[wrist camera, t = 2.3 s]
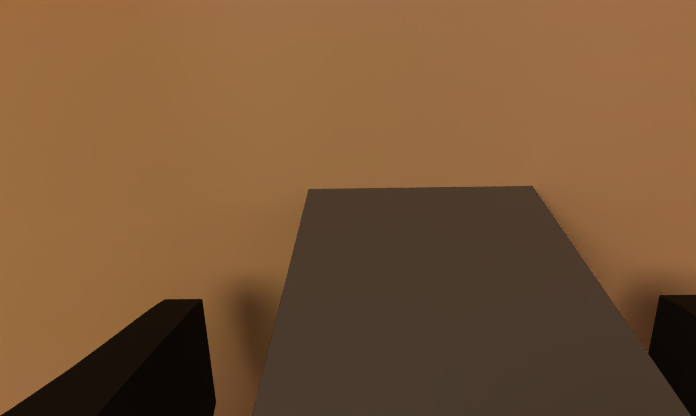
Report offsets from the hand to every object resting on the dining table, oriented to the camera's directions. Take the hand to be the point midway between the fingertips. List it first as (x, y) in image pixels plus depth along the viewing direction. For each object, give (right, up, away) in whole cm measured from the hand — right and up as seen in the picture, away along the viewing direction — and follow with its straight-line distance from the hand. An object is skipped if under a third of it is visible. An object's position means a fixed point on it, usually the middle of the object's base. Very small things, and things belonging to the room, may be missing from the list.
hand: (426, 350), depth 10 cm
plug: (0, +1, +2) cm, 2 cm away
